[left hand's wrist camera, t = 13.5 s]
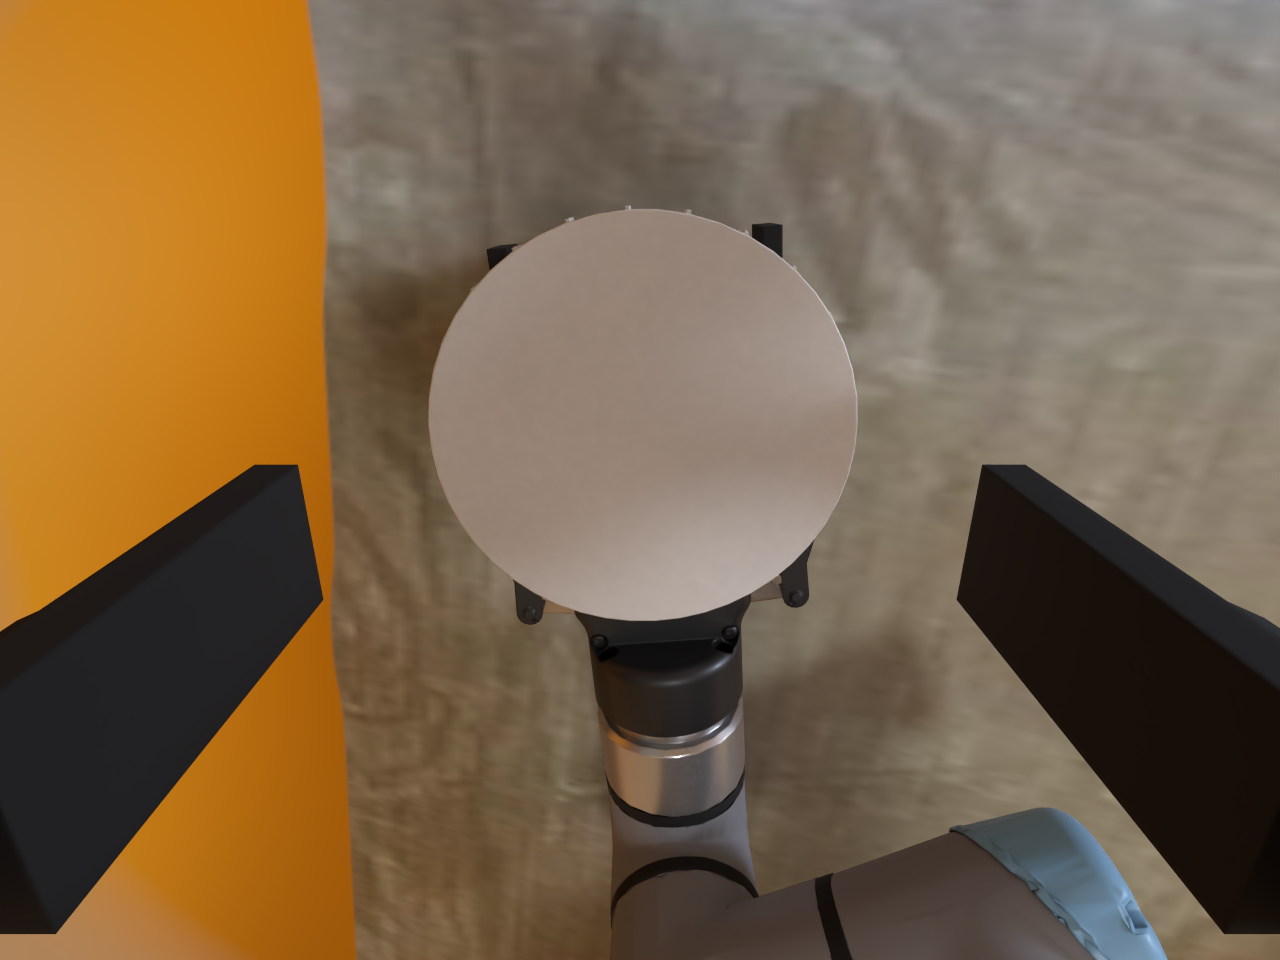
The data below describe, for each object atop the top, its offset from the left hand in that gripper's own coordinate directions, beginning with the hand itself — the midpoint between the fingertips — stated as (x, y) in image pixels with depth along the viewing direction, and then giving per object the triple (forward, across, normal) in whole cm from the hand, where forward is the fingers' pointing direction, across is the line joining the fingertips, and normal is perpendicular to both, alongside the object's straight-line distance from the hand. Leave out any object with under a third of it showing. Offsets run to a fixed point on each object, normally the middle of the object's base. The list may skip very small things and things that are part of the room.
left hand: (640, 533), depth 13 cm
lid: (+6, 0, 0) cm, 6 cm away
